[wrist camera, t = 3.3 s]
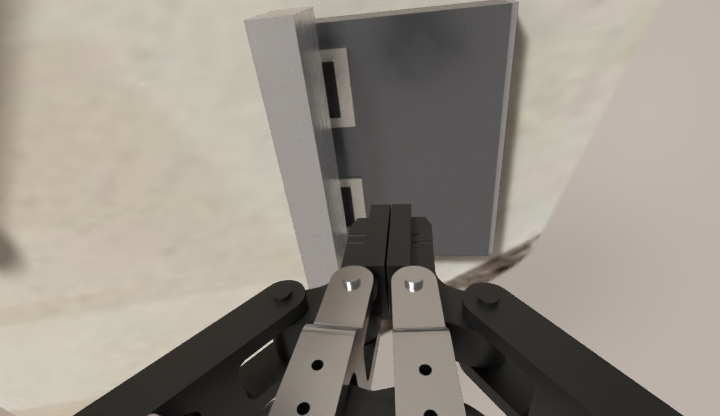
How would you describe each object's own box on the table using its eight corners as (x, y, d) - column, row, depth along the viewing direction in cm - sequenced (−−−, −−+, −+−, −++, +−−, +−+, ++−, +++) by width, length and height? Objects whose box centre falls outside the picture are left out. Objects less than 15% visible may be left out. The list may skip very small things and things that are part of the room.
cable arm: (364, 301, 33) (358, 342, 29) (324, 301, 33) (313, 340, 30) (324, 5, 21) (304, 14, 17) (261, 12, 21) (231, 21, 18)
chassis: (510, -2, 23) (521, 2, 21) (488, 236, 33) (494, 258, 30) (284, 22, 25) (270, 28, 23) (325, 237, 35) (318, 257, 32)
